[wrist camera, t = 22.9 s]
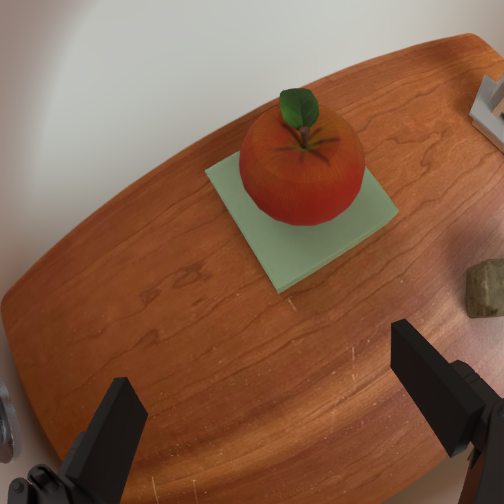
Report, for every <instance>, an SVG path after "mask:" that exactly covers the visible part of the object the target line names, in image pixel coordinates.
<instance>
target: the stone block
mask: <svg viewBox="0 0 504 504" xmlns="http://www.w3.org/2000/svg"><path fill="white" fill-rule="evenodd" d="M466 306H467V314H468V316H469V318H490V317H499V316H504V259H490V260H486V261H482V262H481V263H479V264H477V265H475V266H473V267H470V268H469V269H468V270H467V291H466Z"/></svg>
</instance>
